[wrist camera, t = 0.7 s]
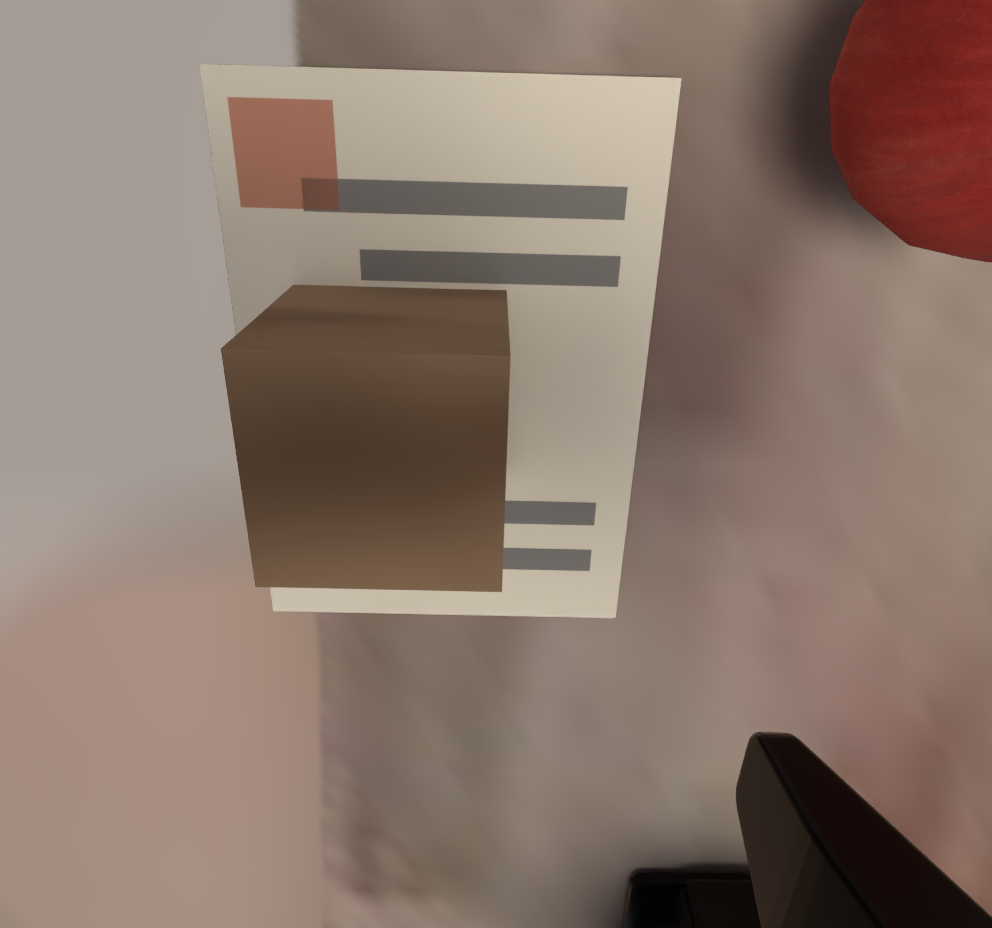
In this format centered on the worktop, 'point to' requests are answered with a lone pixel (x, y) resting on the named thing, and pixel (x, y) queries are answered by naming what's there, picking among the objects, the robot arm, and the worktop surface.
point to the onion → (919, 120)
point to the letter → (473, 271)
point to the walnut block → (374, 437)
